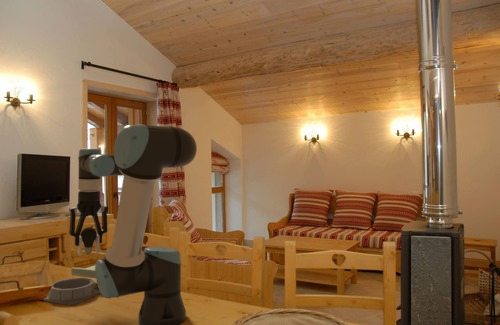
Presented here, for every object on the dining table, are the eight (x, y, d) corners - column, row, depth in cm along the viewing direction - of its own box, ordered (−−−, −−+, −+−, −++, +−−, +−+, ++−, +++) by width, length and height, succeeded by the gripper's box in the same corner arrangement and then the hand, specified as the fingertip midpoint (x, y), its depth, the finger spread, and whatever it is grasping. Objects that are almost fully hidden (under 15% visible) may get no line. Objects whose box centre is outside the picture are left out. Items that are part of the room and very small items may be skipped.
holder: (103, 292, 162) (103, 280, 162) (72, 305, 147) (72, 292, 147) (71, 288, 168) (71, 276, 168) (38, 300, 153) (38, 287, 153)
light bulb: (84, 256, 148) (84, 229, 148) (77, 254, 152) (78, 226, 152) (99, 254, 152) (99, 227, 152) (92, 251, 156) (92, 225, 156)
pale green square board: (128, 269, 177) (128, 262, 177) (103, 279, 162) (103, 271, 162) (98, 266, 183) (98, 259, 183) (71, 275, 168) (71, 268, 168)
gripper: (111, 188, 160) (110, 248, 160) (59, 190, 149) (58, 254, 149) (117, 190, 154) (116, 252, 154) (64, 192, 143) (63, 258, 143)
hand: (88, 253), depth 152 cm, fingers closed on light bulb, 6 cm apart
